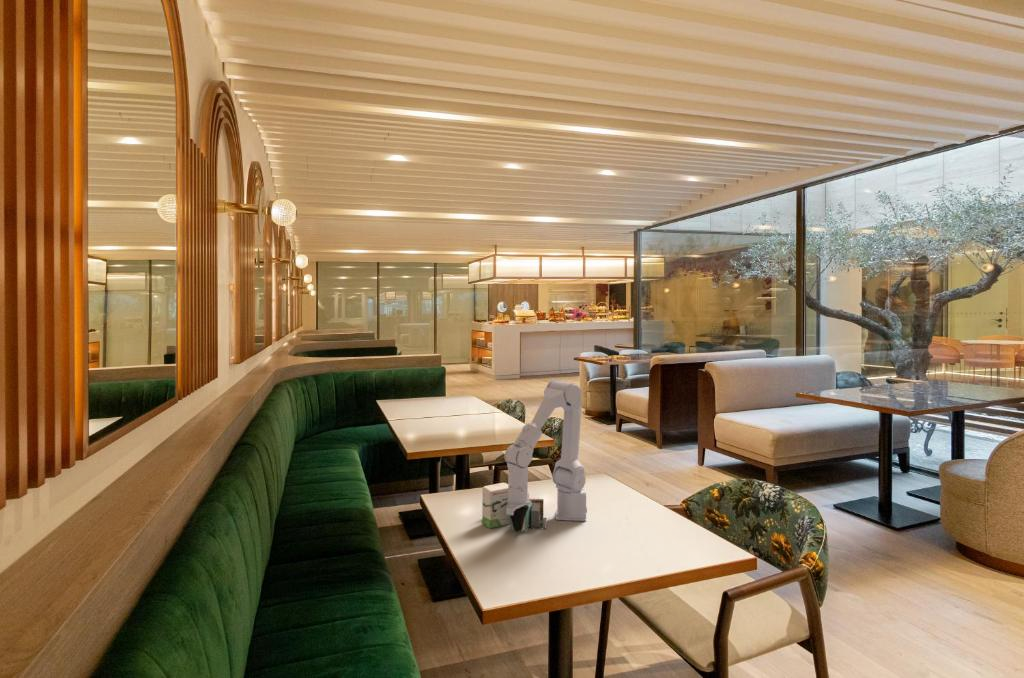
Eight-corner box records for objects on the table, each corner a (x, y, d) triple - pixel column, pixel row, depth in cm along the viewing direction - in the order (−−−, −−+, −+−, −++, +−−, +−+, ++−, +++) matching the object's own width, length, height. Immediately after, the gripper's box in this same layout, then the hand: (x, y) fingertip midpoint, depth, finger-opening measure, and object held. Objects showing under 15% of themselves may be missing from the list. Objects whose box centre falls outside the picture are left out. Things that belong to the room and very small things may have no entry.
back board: (543, 517, 186) (543, 499, 186) (543, 518, 185) (543, 500, 185) (490, 515, 188) (490, 497, 187) (490, 516, 187) (490, 498, 186)
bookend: (546, 519, 185) (546, 502, 184) (545, 529, 177) (545, 511, 177) (532, 518, 185) (532, 501, 185) (531, 528, 177) (531, 510, 177)
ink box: (489, 529, 177) (489, 491, 176) (481, 523, 181) (481, 486, 180) (513, 523, 182) (513, 486, 181) (504, 517, 186) (504, 481, 185)
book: (532, 521, 183) (532, 502, 182) (526, 531, 175) (526, 512, 175) (518, 520, 184) (518, 501, 183) (511, 529, 176) (511, 510, 176)
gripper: (522, 495, 164) (522, 541, 165) (538, 479, 178) (538, 523, 179) (499, 492, 167) (499, 538, 168) (516, 477, 180) (516, 520, 181)
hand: (517, 530), depth 173 cm, fingers closed
